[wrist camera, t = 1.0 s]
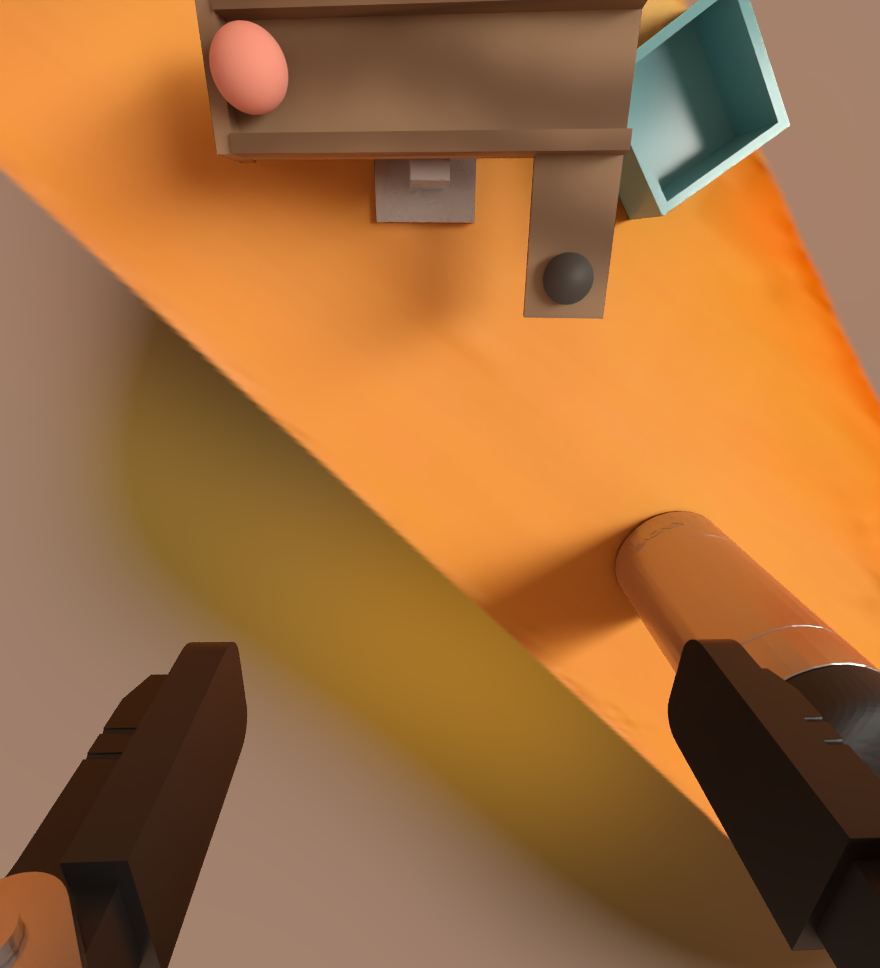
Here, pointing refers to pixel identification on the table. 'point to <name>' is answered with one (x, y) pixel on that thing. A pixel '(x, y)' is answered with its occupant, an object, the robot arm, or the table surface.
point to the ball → (248, 67)
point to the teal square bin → (697, 105)
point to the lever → (459, 107)
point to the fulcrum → (425, 190)
